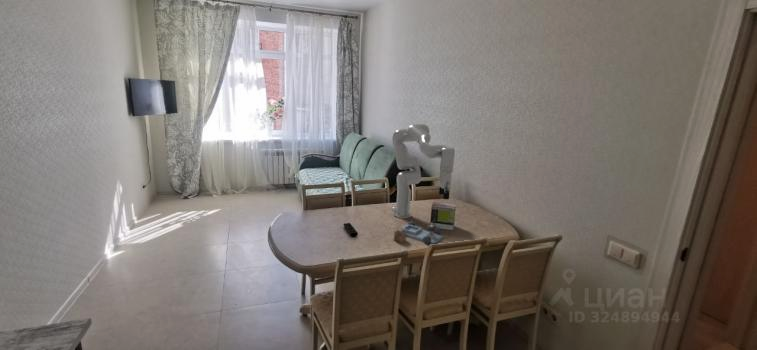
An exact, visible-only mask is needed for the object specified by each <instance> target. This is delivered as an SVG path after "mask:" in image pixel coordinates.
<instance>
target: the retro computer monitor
mask: <svg viewBox="0 0 757 350" xmlns="http://www.w3.org/2000/svg"><path fill="white" fill-rule="evenodd" d="M456 209H457V204H452V203H445V202H436V201H434V202H432V205H431V209H430V219H429V220H430V222H429V223H430V224H429V225H435V226H436V229H437V228H438V229H440V230H446V231H454V228H455V221H456Z"/></svg>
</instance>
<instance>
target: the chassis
mask: <svg viewBox="0 0 757 350" xmlns="http://www.w3.org/2000/svg"><path fill="white" fill-rule="evenodd" d="M400 228H401V229H404V230H405V231H406V237H408V238H411V239H415V240H417V241H419V242H420V241H421V242H423V243H424V244H426V245H428V244H430V245H433V244H434V243H435V244H436V243H438V242H439V241H441V240H442V239H443V235H442V229H439V228H436V231H433V233H432V234H430V231H428V230H424V229H423V228H422V227H421V226H417V225H416V223H415V222H414V221H412V220H411V221H409V222H408V223H407V224H404V225H402V226H401V227H398V228H397V229H396V230H398V229H400ZM435 244H434V245H435Z"/></svg>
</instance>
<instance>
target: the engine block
mask: <svg viewBox="0 0 757 350" xmlns="http://www.w3.org/2000/svg"><path fill="white" fill-rule="evenodd" d="M399 228H400V229H398V228H397V229H398V230H397V229H395V230H394V232H393V233H394V235H393V236H394V238H393V241H394V242H397V243H400V244H403V243H404V242H406V241H407V240H406V239H407V236H406V231H405V230H404V229H401V227H399Z"/></svg>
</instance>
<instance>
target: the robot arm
mask: <svg viewBox="0 0 757 350" xmlns="http://www.w3.org/2000/svg"><path fill="white" fill-rule="evenodd" d="M391 139H392V144H393V147H394V151H395V159H396V165H397V168H398V169H399V170H402V171H401V172H398V174H396V175H397V176H396V186H397V187H396V188H397V189H396V190H397V193H396V206H392V207H391V211H393V217H395V218H397V219H405V220H406V219H410V218H411V217H412V213H411V212H410V210H411V199H412V198H411V197H412V191H411V188H410V186H413V185H417V184H419V183H420V182H421V180H422V173H421V172H422V171H421V165H420V164H421V163H420V159H419V158H418V157H417V155H414V154H409V151H408V150H409V149H408V147H407V145H406V144H405V143H406V142H407V143H409V142H411V143H412V142H416V143H418V147H419V150H420V152H421V153H422V154H423V155H424V156H425V157H426V158H428V159H440V163H439V164H440V165H439V176H438V186H439V189H438V194H439V195H443V197H442V199H443V200H449V199H450V193H451V186H452V185H451V184H452V173H453V172H454V162H455V152H456V151H455V148H454V147H449V146H447V145H445V144H434V145H430V144H429V143H430V142H431V135H430V128H429V126H428V125H427V124H422V123H420V124H419V123H418V124H416V123H415V124H411V125H409V126H408V128H401V129H397V130H395V131H394V132H393V133H392V138H391ZM405 170H406V171H405Z"/></svg>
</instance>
